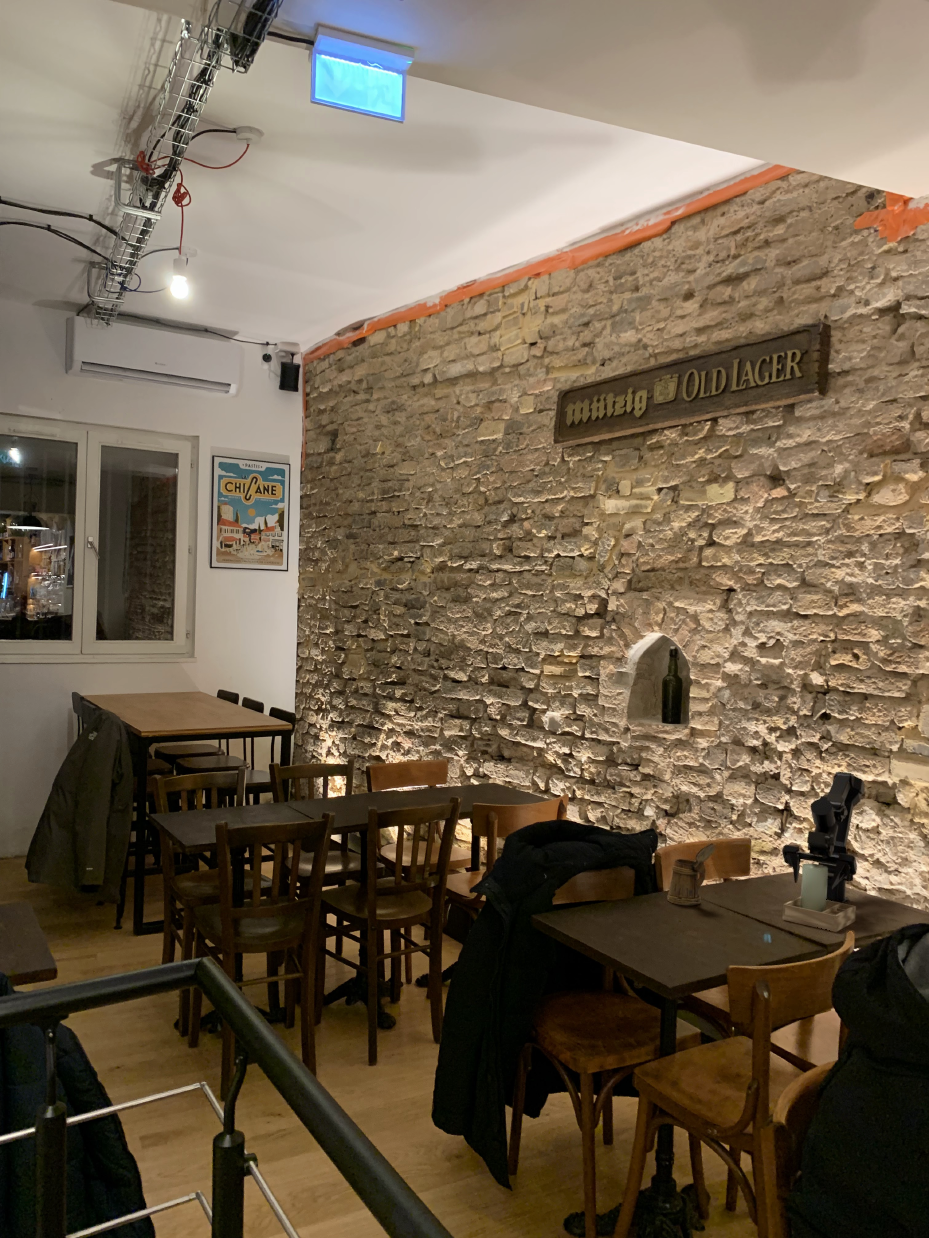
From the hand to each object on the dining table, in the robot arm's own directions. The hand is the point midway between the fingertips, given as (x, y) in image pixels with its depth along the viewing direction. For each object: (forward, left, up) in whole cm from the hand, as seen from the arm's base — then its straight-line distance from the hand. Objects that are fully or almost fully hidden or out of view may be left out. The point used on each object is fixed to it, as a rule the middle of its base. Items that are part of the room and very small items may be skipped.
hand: (813, 885), depth 255 cm
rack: (-1, +2, -9) cm, 9 cm away
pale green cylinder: (-1, 0, -8) cm, 8 cm away
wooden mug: (+12, -29, -9) cm, 33 cm away
